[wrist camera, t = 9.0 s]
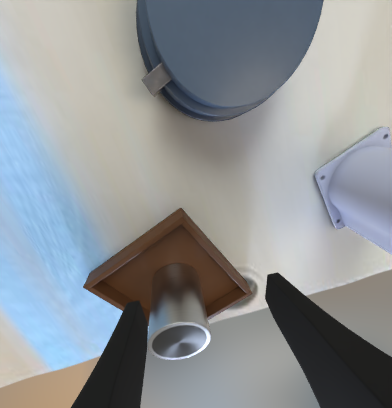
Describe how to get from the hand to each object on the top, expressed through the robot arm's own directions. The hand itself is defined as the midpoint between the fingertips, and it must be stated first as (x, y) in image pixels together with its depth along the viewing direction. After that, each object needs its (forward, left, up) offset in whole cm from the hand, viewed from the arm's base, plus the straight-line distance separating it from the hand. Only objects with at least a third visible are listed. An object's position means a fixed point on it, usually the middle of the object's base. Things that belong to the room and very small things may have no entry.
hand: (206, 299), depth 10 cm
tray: (-7, +7, -10) cm, 14 cm away
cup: (-7, +7, -10) cm, 14 cm away
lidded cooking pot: (+10, -10, -10) cm, 18 cm away
